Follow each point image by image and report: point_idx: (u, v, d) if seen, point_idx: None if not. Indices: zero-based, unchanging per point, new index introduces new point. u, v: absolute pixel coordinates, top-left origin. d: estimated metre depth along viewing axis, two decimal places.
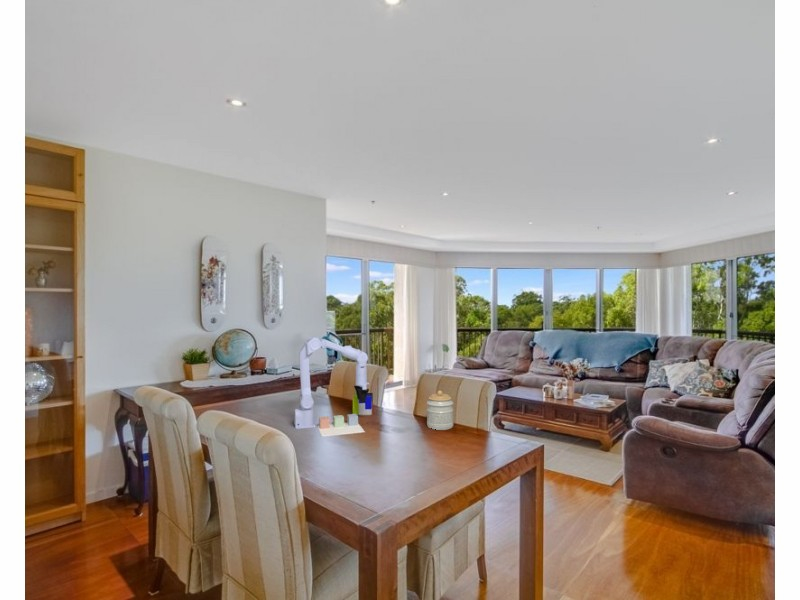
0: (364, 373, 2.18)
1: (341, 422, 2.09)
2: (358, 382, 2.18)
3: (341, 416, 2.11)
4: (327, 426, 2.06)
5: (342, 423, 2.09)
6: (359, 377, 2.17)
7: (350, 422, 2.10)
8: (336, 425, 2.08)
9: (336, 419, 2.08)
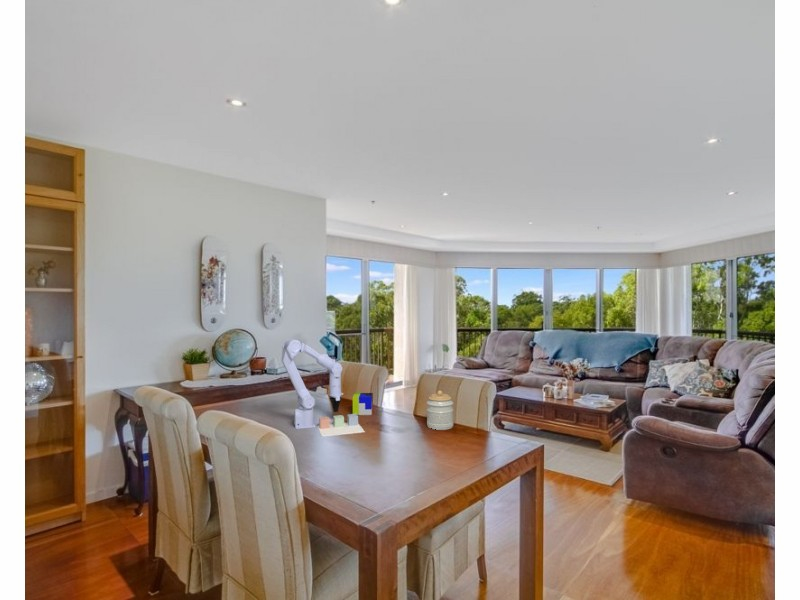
0: (339, 384, 2.17)
1: (341, 422, 2.09)
2: (332, 393, 2.16)
3: (341, 416, 2.11)
4: (327, 426, 2.06)
5: (342, 423, 2.09)
6: (333, 388, 2.16)
7: (350, 422, 2.10)
8: (336, 425, 2.08)
9: (336, 419, 2.08)
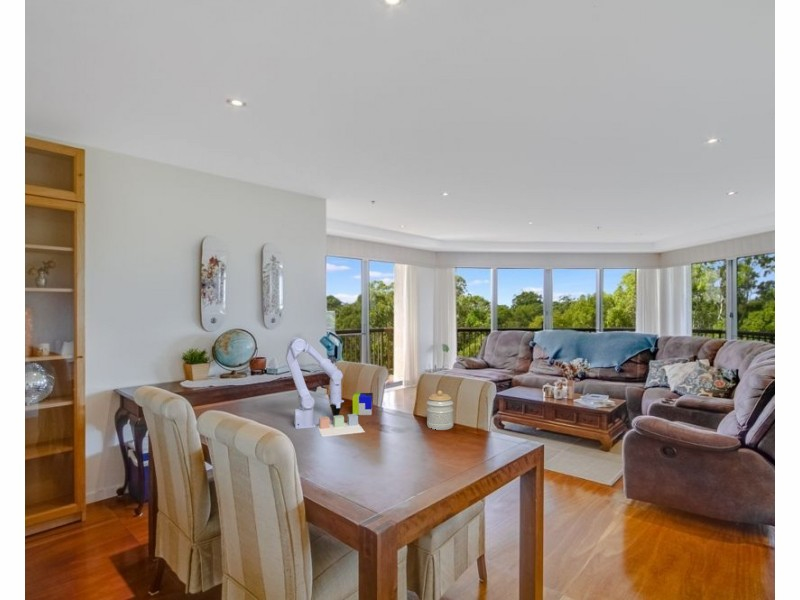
0: (339, 391, 2.16)
1: (341, 422, 2.09)
2: (332, 400, 2.15)
3: (341, 416, 2.11)
4: (327, 426, 2.06)
5: (342, 423, 2.09)
6: (333, 395, 2.15)
7: (350, 422, 2.10)
8: (336, 425, 2.08)
9: (336, 419, 2.08)
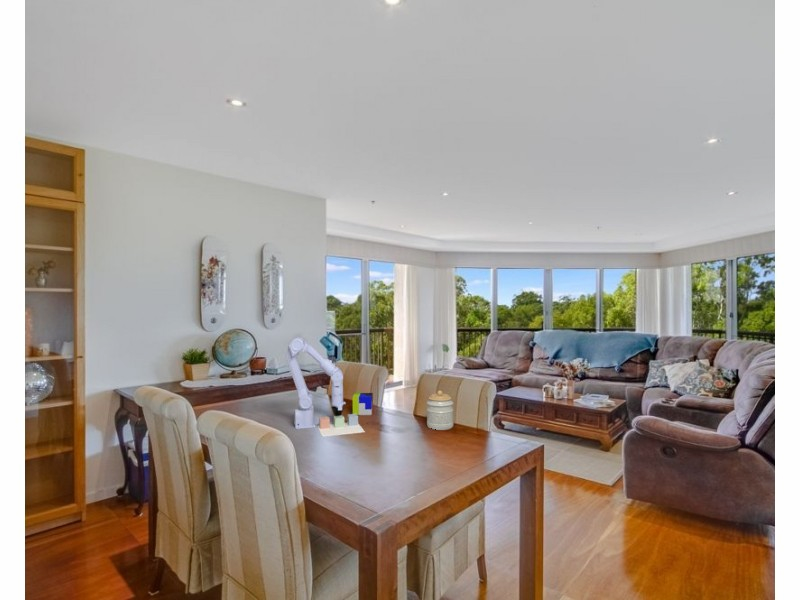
0: (339, 393, 2.11)
1: (341, 422, 2.08)
2: (334, 402, 2.11)
3: (341, 416, 2.10)
4: (327, 426, 2.06)
5: (342, 423, 2.08)
6: (335, 397, 2.11)
7: (350, 422, 2.10)
8: (336, 425, 2.07)
9: (336, 419, 2.07)
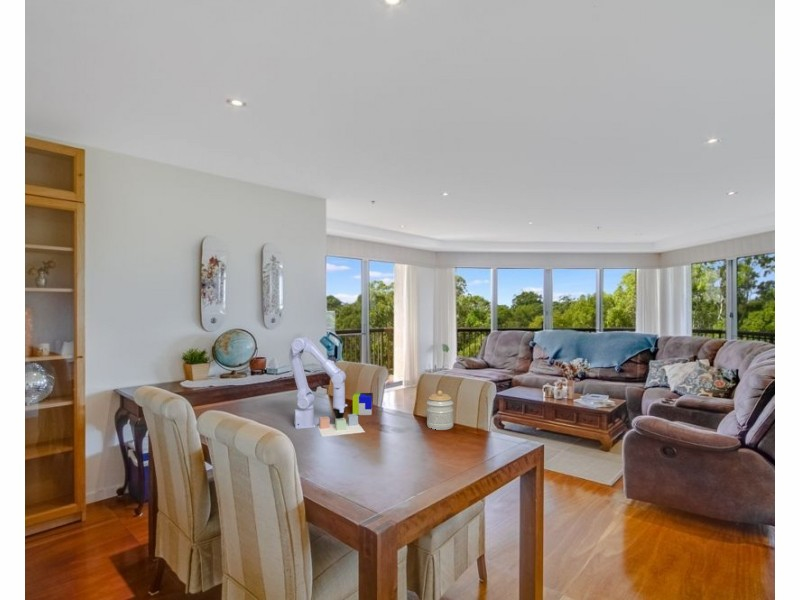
0: (339, 395, 2.06)
1: (343, 425, 2.04)
2: (335, 404, 2.06)
3: (343, 419, 2.06)
4: (327, 426, 2.06)
5: (344, 426, 2.04)
6: (336, 399, 2.06)
7: (350, 422, 2.10)
8: (338, 428, 2.03)
9: (338, 422, 2.03)
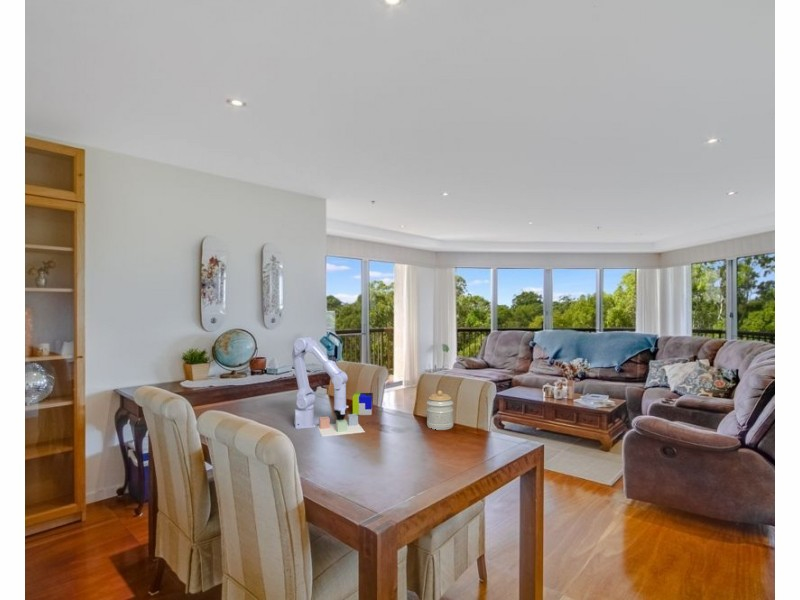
0: (339, 396, 2.03)
1: (344, 426, 2.01)
2: (336, 406, 2.04)
3: (344, 420, 2.03)
4: (327, 426, 2.06)
5: (345, 428, 2.01)
6: (337, 400, 2.03)
7: (350, 422, 2.10)
8: (339, 430, 2.00)
9: (339, 424, 2.00)
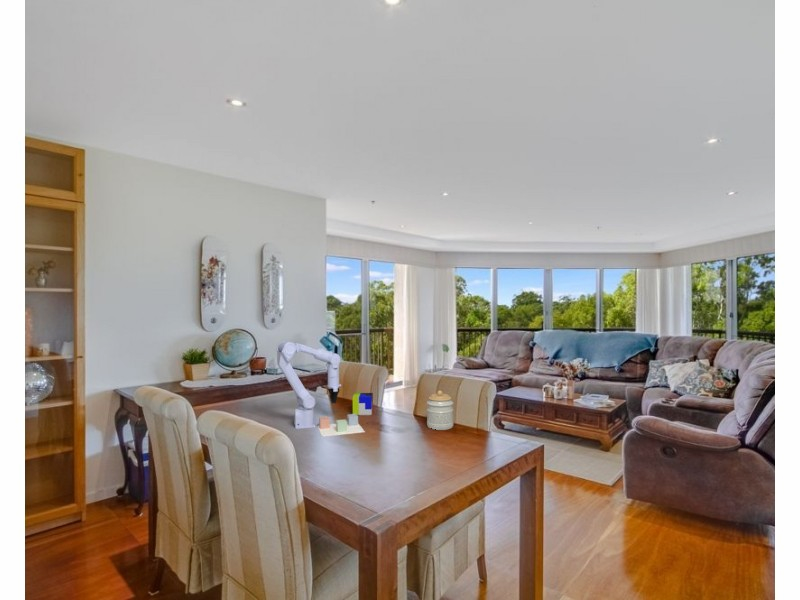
0: (337, 375, 2.18)
1: (344, 426, 2.01)
2: (330, 384, 2.17)
3: (344, 420, 2.03)
4: (327, 426, 2.06)
5: (345, 428, 2.01)
6: (331, 379, 2.17)
7: (350, 422, 2.10)
8: (339, 430, 2.00)
9: (339, 424, 2.00)
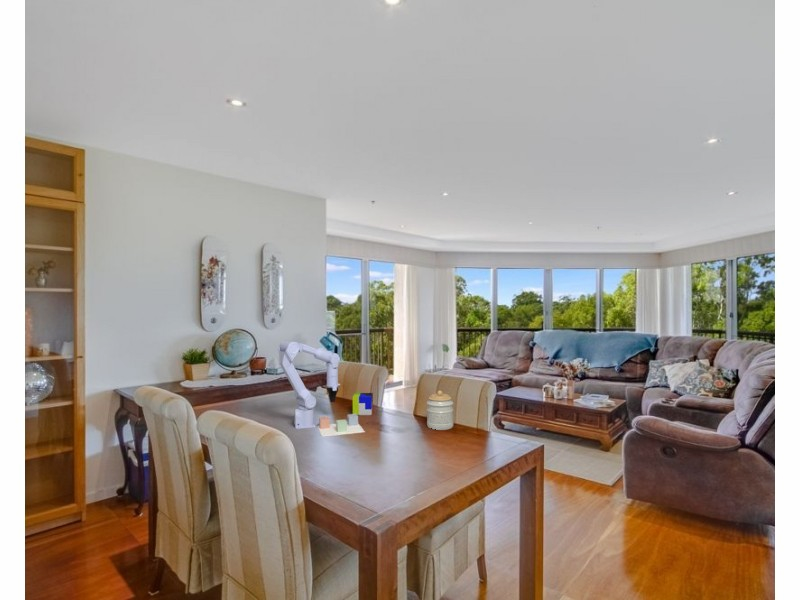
0: (336, 374, 2.20)
1: (344, 426, 2.01)
2: (329, 383, 2.19)
3: (344, 420, 2.03)
4: (327, 426, 2.06)
5: (345, 428, 2.01)
6: (330, 378, 2.19)
7: (350, 422, 2.10)
8: (339, 430, 2.00)
9: (339, 424, 2.00)
